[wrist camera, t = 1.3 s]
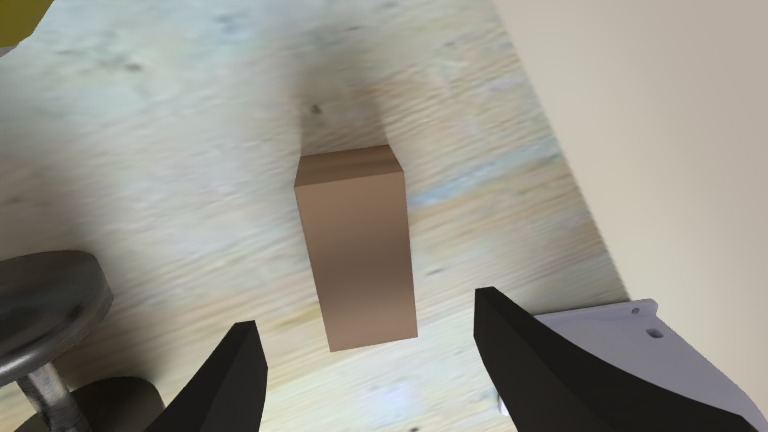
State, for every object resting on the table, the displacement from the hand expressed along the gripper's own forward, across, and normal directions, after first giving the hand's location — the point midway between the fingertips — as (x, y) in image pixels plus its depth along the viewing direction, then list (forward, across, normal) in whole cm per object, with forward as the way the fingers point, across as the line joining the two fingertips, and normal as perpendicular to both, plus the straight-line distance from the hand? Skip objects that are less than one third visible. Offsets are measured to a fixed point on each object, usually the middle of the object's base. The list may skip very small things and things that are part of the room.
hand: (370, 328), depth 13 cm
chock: (+7, 0, 0) cm, 7 cm away
